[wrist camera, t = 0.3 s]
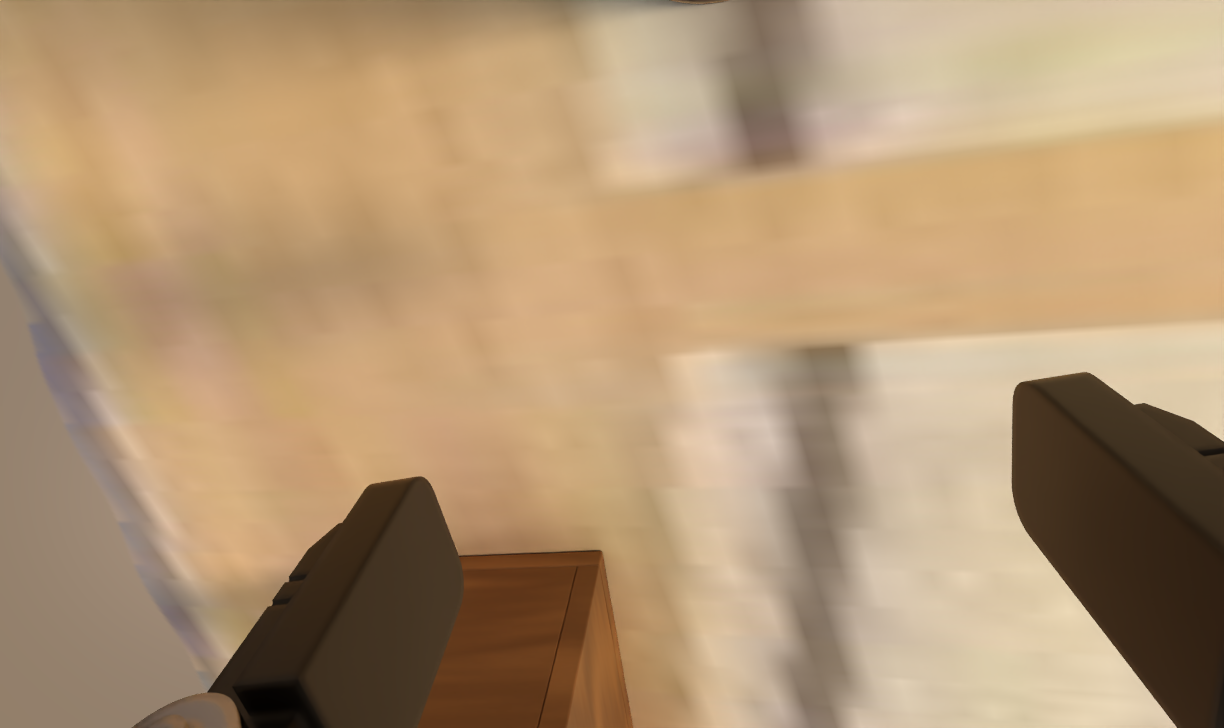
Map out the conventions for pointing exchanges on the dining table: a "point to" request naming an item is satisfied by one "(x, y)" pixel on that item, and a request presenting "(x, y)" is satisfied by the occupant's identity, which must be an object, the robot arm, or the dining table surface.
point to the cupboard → (531, 647)
